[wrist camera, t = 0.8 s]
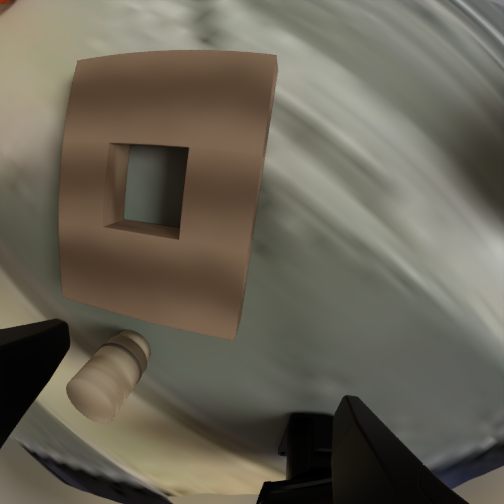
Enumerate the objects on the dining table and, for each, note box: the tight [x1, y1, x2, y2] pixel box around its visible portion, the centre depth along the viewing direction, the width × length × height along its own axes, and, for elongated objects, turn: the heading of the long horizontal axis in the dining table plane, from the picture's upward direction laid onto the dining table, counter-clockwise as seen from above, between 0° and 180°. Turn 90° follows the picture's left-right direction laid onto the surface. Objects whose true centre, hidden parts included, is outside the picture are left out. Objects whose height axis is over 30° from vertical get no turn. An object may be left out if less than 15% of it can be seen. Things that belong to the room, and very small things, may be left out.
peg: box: [66, 330, 151, 423], centre depth 21 cm, size 4×4×8 cm
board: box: [59, 50, 278, 340], centre depth 19 cm, size 18×14×3 cm
